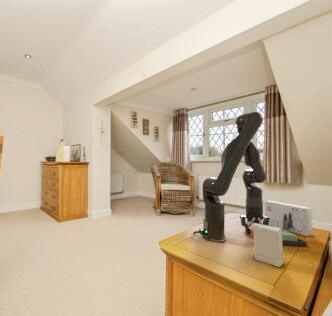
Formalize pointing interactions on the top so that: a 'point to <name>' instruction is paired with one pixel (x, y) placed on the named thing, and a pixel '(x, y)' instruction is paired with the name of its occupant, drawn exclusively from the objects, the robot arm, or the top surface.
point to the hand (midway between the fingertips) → (254, 234)
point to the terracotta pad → (251, 232)
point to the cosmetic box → (268, 244)
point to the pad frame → (295, 243)
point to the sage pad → (288, 236)
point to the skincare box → (289, 217)
